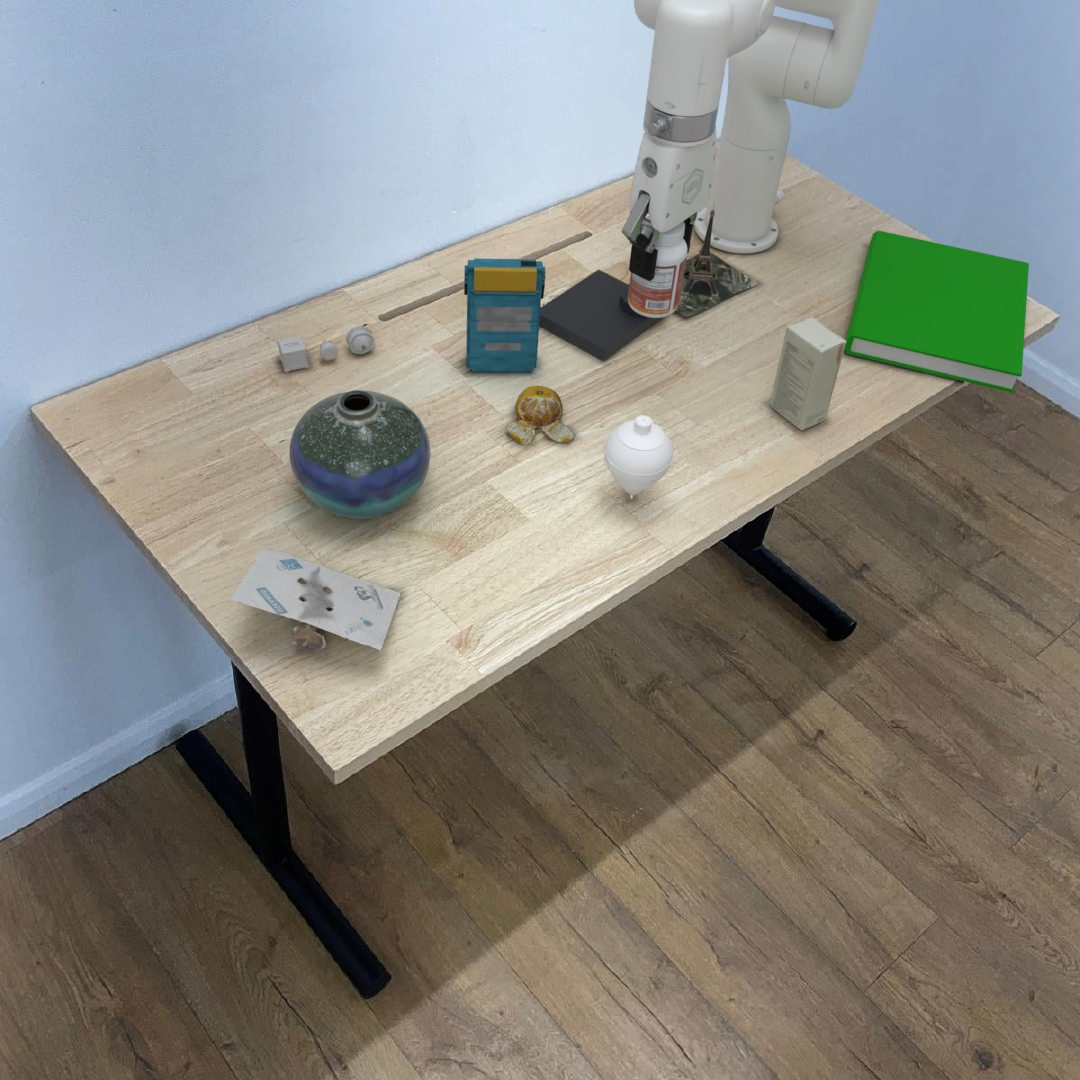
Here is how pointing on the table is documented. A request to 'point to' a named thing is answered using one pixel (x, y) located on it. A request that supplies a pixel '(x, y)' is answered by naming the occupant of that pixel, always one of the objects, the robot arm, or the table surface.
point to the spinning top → (638, 454)
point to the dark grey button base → (595, 316)
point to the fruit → (538, 416)
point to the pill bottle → (661, 276)
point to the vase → (360, 454)
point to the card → (318, 599)
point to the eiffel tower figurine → (709, 279)
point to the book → (941, 311)
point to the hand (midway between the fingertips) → (658, 261)
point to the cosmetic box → (807, 372)
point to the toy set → (322, 348)
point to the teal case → (503, 314)
